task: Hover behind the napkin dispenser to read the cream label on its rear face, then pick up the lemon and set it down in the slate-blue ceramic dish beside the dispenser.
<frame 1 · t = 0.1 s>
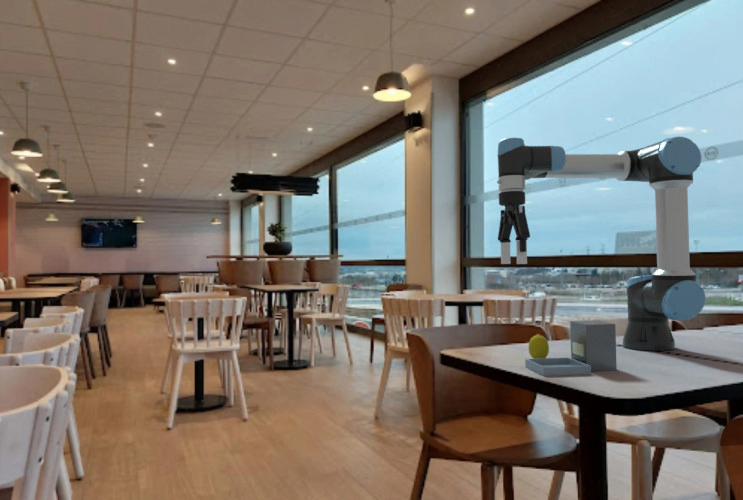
hand: (513, 264, 161), 28 cm above the table, fingers open, 13 cm apart
dish: (556, 370, 144), on the table
lemon: (538, 362, 156), on the table
dispenser: (593, 367, 147), on the table
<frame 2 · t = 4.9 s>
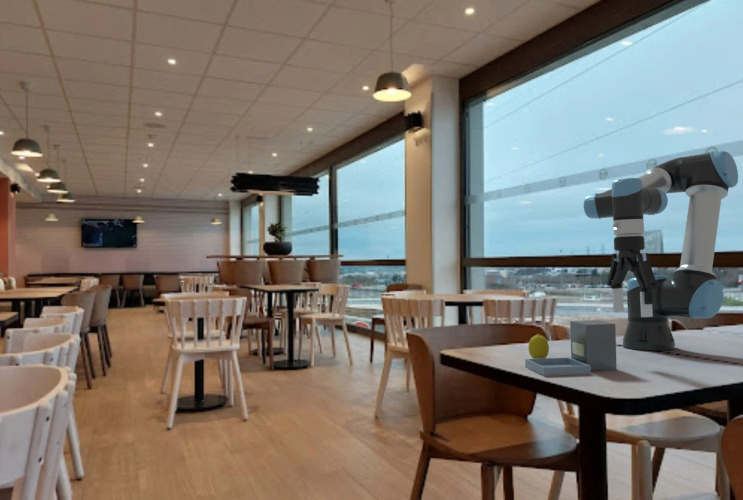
hand: (632, 314, 149), 14 cm above the table, fingers open, 13 cm apart
nothing on the table moved.
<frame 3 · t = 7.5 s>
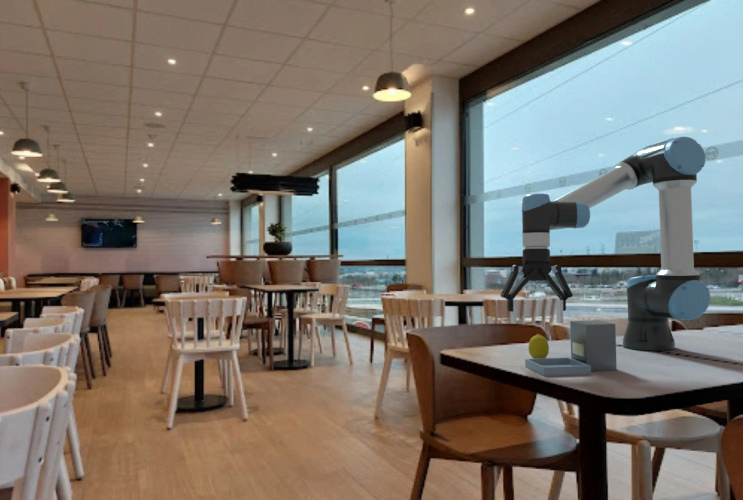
hand: (536, 323, 156), 11 cm above the table, fingers open, 13 cm apart
nothing on the table moved.
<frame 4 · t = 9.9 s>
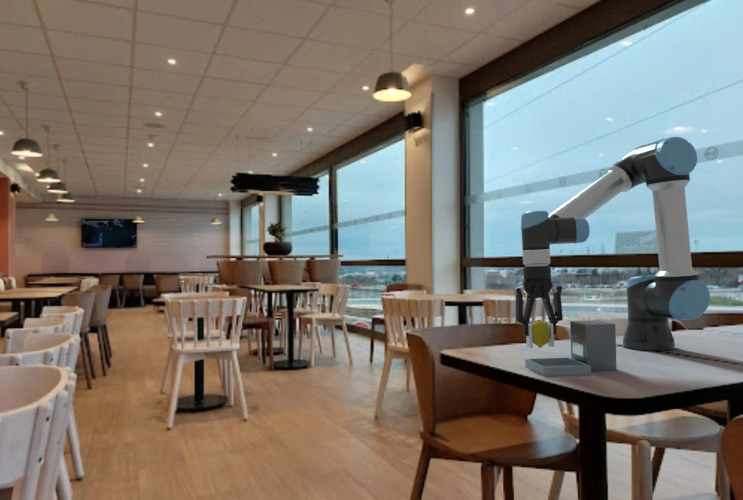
hand: (540, 346, 156), 4 cm above the table, fingers closed on lemon, 5 cm apart
lemon: (540, 348, 156), point 4 cm above the table, touching gripper
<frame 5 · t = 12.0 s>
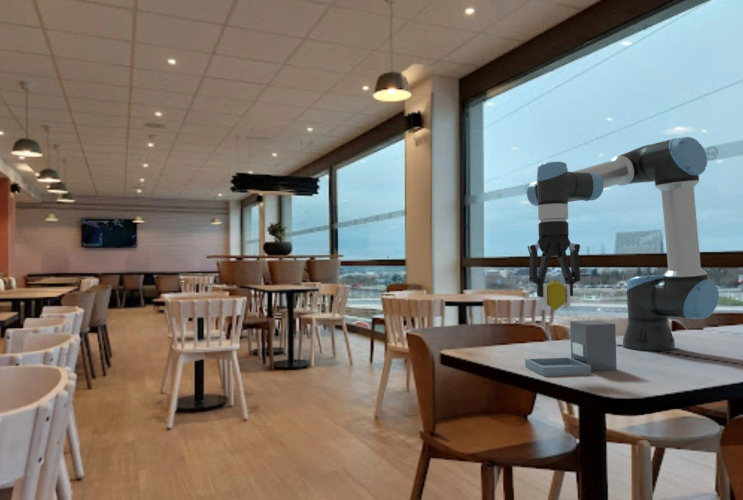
hand: (555, 309, 145), 16 cm above the table, fingers closed on lemon, 5 cm apart
lemon: (555, 311, 145), point 16 cm above the table, touching gripper
when the fingers open (3 cm above the table, at t = 14.6 s): lemon drops 2 cm, resting on dish.
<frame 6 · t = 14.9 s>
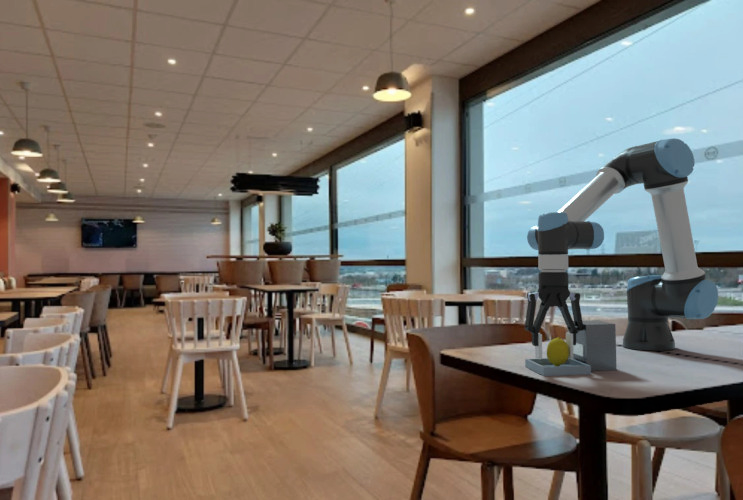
hand: (554, 358, 144), 3 cm above the table, fingers open, 8 cm apart
lemon: (556, 368, 144), point 1 cm above the table, touching dish
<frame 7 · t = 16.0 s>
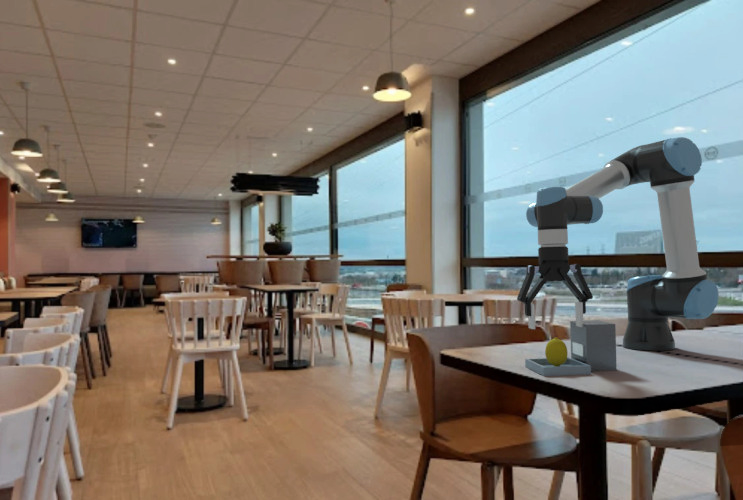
hand: (555, 327, 145), 11 cm above the table, fingers open, 12 cm apart
nothing on the table moved.
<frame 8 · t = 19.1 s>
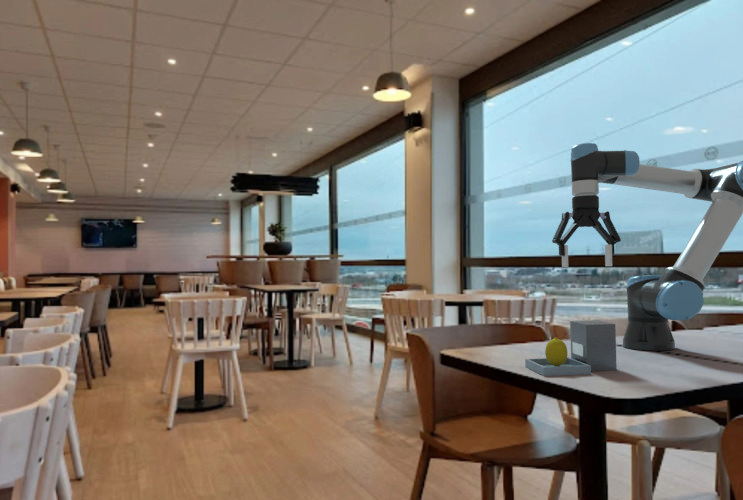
hand: (587, 266, 164), 27 cm above the table, fingers open, 13 cm apart
nothing on the table moved.
at the end: lemon inside the target area on the dish (0.0 cm from its centre), point 0.4 cm above the dish's base; the gripper is holding nothing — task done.
